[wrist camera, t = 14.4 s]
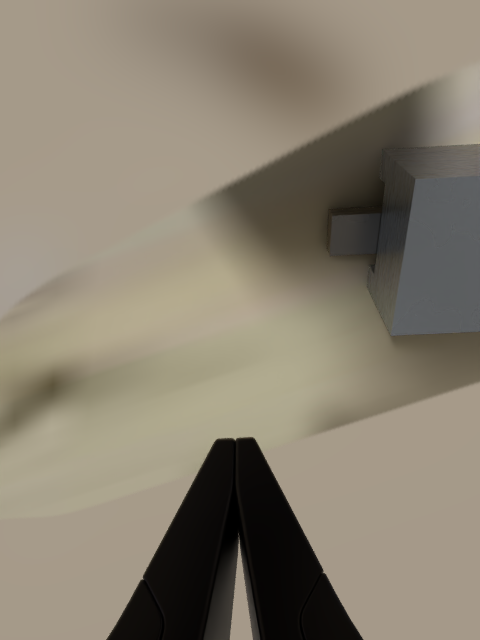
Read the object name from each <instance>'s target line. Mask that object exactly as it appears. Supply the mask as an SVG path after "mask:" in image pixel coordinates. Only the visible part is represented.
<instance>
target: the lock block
mask: <svg viewBox="0 0 480 640" xmlns="http://www.w3.org/2000/svg"><path fill="white" fill-rule="evenodd" d="M379 178H380V179H381V180H382V181H383V182H384V183H385V191H384V199H383V207H382V215H381V223H380V231H379V239H378V248H377V256H376V264H375V265H369V271H368V279H367V288H368V290H369V292H370V294H371V296H372V298H373V300H374V302H375V304H376V306H377V308H378V311H379V313H380V315H381V317H382V319H383V321H384V323H385V325H386V327H387V329H388V331H389V333H390V335H391V336H395V335H417V334H439V333H461V332H480V144H471V145H453V146H435V147H417V148H398V149H382V158H381V167H380V175H379Z"/></svg>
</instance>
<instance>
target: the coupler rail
mask: <svg viewBox="0 0 480 640" xmlns="http://www.w3.org/2000/svg"><path fill="white" fill-rule="evenodd" d="M382 207H383V206H378V207H358V208H339V209H329V215H328V232H327V250H328V253H329V255H330V256H338V255H358V254H377V248H378V239H379V231H380V223H381V215H382Z"/></svg>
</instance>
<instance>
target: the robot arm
mask: <svg viewBox="0 0 480 640" xmlns="http://www.w3.org/2000/svg"><path fill="white" fill-rule="evenodd" d="M239 540H240V549H241V556H242V564H243V571H244V579H245V586H246V593H247V600H248V607H249V614H250V621H251V628H252V635H253V640H363V639H362V637H361V635H360V634H359V632H358V631H357V629H356V627H355V626H354V624H353V623H352V621H351V619H350V618H349V616H348V614H347V612H346V611H345V609H344V607H343V605H342V603H341V602H340V600H339V598H338V597H337V595H336V593H335V591H334V589H333V587H332V585H331V583H330V581H329V579H328V578H327V576H326V574H325V573H323V569H322V566H321V565H320V563H319V561H318V559H317V557H316V555H315V553H314V551H313V549H312V547H311V545H310V544H309V541H308V540H307V538H306V536H305V534H304V532H303V530H302V528H301V526H300V524H299V522H298V520H297V519H296V517H295V515H294V513H293V511H292V509H291V507H290V505H289V503H288V501H287V499H286V497H285V495H284V493H283V492H282V490H281V488H280V486H279V484H278V482H277V480H276V478H275V476H274V474H273V472H272V471H271V469H270V467H269V465H268V463H267V461H266V459H265V457H264V455H263V453H262V451H261V449H260V447H259V445H258V444H257V442H256V440H255V439H254V438H253V437H245V438H237V439H236V441H235V440H234V439H233V438H221V439H217V440H216V441H215V442H214V444H213V446H212V447H211V449H210V451H209V453H208V455H207V457H206V459H205V461H204V462H203V464H202V466H201V468H200V470H199V472H198V474H197V476H196V478H195V479H194V481H193V483H192V485H191V487H190V489H189V491H188V493H187V494H186V496H185V498H184V500H183V502H182V504H181V506H180V508H179V509H178V511H177V513H176V515H175V517H174V519H173V521H172V523H171V525H170V526H169V528H168V530H167V532H166V534H165V536H164V538H163V540H162V541H161V543H160V545H159V547H158V549H157V551H156V553H155V554H154V556H153V558H152V560H151V562H150V564H149V566H148V567H147V569H146V571H145V573H144V575H143V579H144V580H141V581H140V582H139V584H138V586H137V588H136V590H135V592H134V593H133V595H132V597H131V599H130V601H129V603H128V604H127V606H126V608H125V610H124V611H123V613H122V615H121V617H120V618H119V620H118V622H117V624H116V625H115V627H114V629H113V630H112V632H111V633H110V635H109V636H108V638H107V639H106V640H230V629H231V620H232V609H233V599H234V588H235V578H236V568H237V557H238V544H239Z"/></svg>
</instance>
